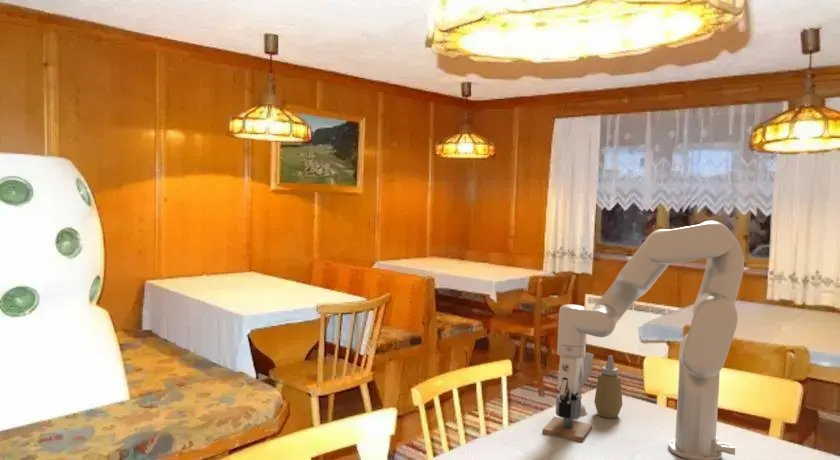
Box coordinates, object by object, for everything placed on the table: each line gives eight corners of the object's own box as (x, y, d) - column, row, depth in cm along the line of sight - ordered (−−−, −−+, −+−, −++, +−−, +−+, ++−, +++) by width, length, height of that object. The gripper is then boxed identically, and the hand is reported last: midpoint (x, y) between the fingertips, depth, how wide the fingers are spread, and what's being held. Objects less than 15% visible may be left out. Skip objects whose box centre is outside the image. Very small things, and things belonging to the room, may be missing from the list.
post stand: (592, 428, 170) (593, 400, 170) (582, 442, 161) (584, 411, 160) (554, 420, 176) (555, 392, 175) (542, 433, 166) (543, 403, 166)
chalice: (588, 409, 186) (591, 351, 185) (593, 417, 179) (595, 357, 178) (564, 408, 186) (567, 350, 185) (567, 416, 180) (570, 356, 179)
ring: (582, 413, 169) (583, 396, 169) (576, 420, 164) (577, 402, 163) (559, 409, 172) (560, 391, 172) (553, 415, 167) (554, 398, 166)
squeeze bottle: (620, 411, 184) (623, 353, 183) (623, 421, 177) (626, 360, 176) (593, 409, 186) (595, 351, 185) (594, 418, 178) (597, 358, 177)
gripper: (576, 358, 157) (573, 426, 159) (592, 345, 173) (589, 406, 174) (548, 354, 161) (545, 420, 162) (566, 341, 176) (563, 401, 177)
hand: (568, 412), depth 168 cm, fingers closed on ring, 6 cm apart
